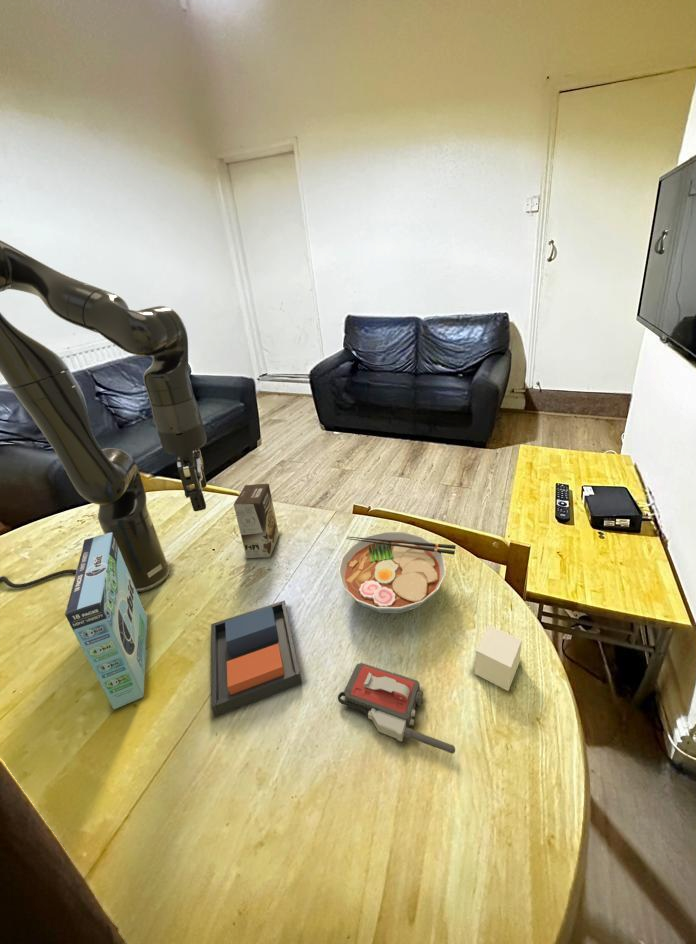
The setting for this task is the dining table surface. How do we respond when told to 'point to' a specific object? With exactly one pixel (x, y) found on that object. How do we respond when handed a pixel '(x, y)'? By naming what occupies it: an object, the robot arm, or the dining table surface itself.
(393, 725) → the walkie-talkie
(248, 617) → the blue rectangular block
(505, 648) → the beige cube
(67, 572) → the robot arm
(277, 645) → the pad
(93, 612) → the gum box
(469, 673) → the dining table surface
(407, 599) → the ramen bowl
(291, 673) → the holder
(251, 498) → the coffee box
